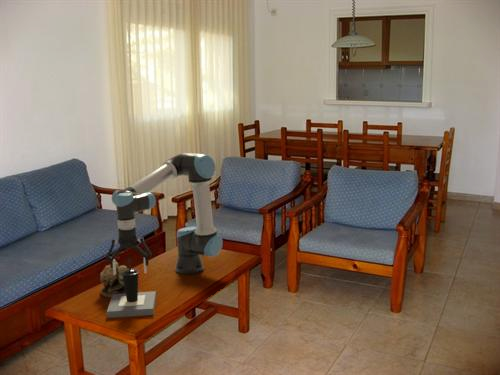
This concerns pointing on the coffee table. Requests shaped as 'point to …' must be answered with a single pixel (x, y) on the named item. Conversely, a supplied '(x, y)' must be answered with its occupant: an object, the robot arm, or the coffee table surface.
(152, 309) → the base
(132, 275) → the drinking cup
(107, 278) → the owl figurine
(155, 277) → the coffee table surface
